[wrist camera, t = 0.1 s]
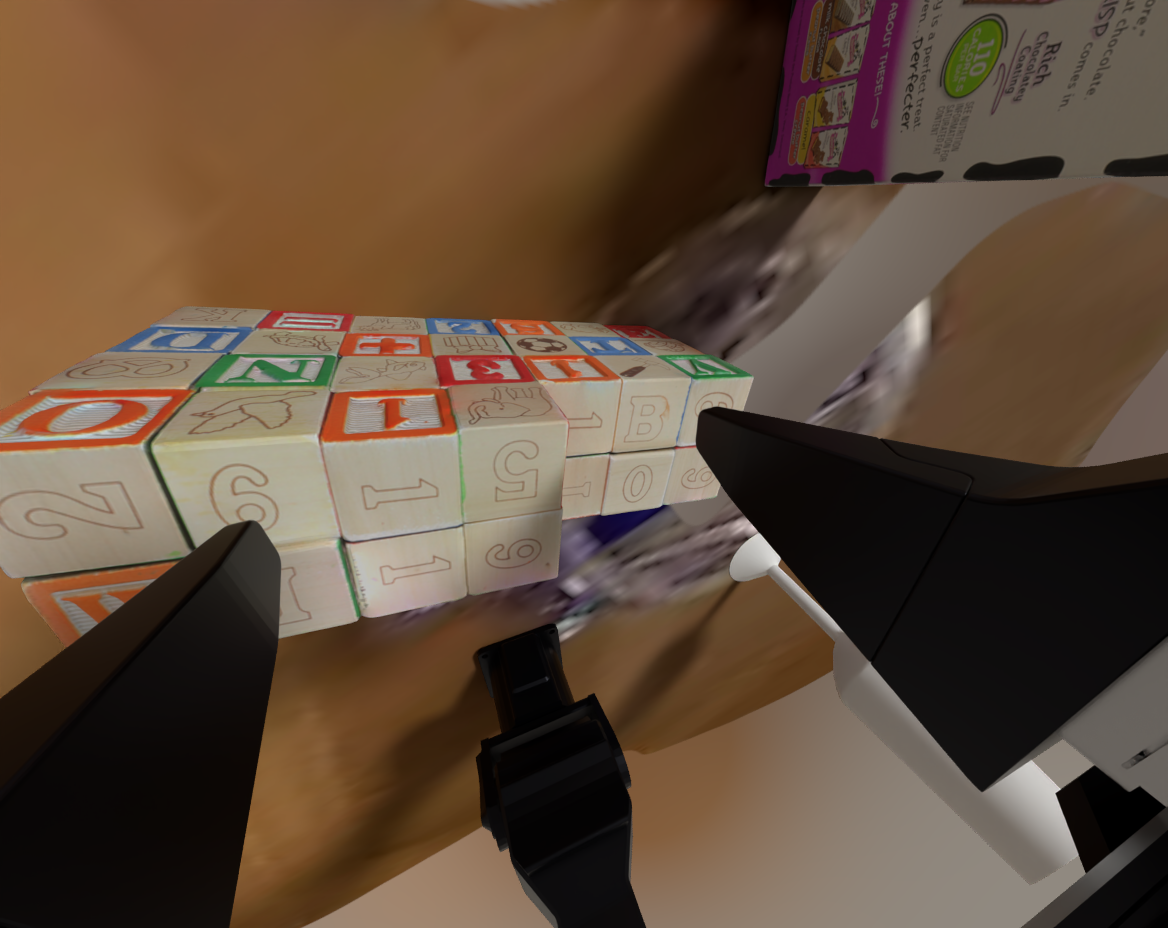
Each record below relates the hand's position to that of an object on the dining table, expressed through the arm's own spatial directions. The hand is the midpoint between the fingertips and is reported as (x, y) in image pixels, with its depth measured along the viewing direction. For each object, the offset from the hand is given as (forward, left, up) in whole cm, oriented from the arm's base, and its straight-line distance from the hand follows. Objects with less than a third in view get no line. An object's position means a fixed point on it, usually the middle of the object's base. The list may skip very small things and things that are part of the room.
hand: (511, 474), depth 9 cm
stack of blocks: (-3, 0, -15) cm, 15 cm away
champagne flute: (-26, -24, -15) cm, 39 cm away
